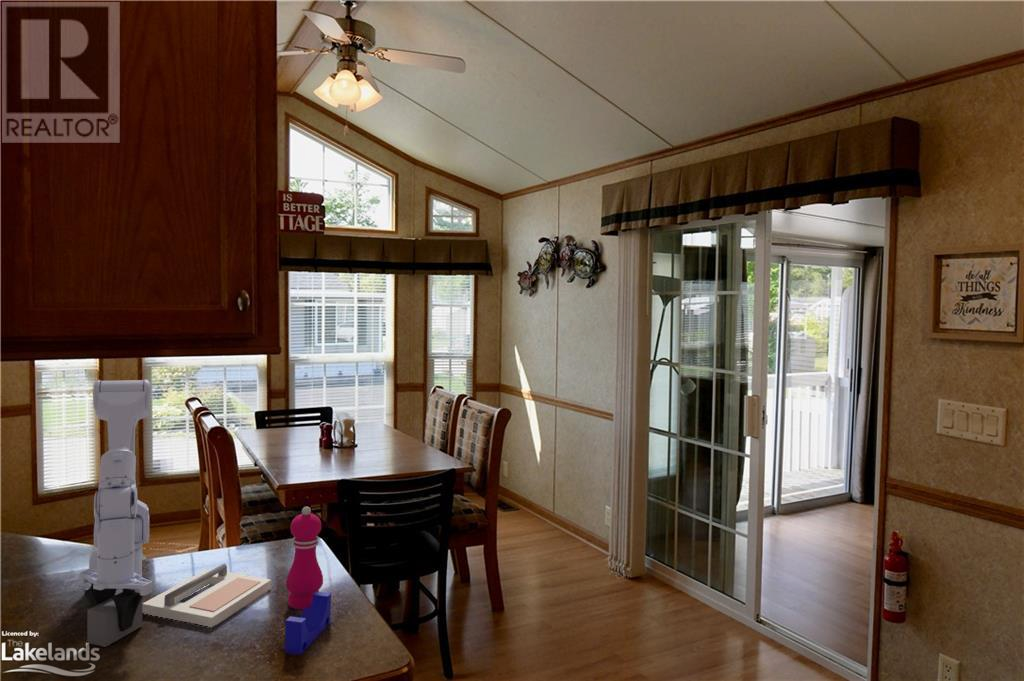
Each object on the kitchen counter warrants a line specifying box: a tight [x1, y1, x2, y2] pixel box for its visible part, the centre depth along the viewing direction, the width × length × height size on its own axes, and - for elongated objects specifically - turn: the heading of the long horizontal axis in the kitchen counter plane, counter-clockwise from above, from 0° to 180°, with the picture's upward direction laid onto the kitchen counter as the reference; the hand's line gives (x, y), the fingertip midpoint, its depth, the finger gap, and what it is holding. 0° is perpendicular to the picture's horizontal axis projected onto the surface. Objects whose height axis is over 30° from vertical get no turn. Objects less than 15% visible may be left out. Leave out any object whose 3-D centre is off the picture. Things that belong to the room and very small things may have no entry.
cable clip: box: [284, 590, 332, 655], centre depth 124 cm, size 12×4×6 cm, turn 171°
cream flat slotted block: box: [142, 563, 272, 629], centre depth 136 cm, size 16×18×4 cm
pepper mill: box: [285, 506, 324, 610], centre depth 136 cm, size 7×7×20 cm
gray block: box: [86, 597, 144, 648], centre depth 121 cm, size 4×8×6 cm, turn 164°
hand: (115, 626), depth 121 cm, fingers closed on gray block, 4 cm apart
